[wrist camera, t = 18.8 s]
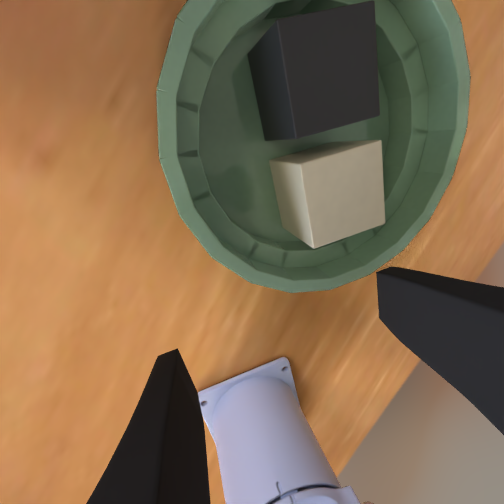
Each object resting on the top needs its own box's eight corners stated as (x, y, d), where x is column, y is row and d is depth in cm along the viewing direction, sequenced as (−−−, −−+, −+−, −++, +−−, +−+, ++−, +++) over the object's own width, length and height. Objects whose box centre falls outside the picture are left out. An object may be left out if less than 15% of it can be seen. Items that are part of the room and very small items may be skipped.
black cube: (331, 123, 18) (380, 115, 14) (264, 141, 17) (295, 139, 13) (321, 37, 16) (375, -2, 12) (246, 53, 15) (276, 18, 11)
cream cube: (340, 208, 20) (385, 223, 16) (282, 227, 19) (313, 249, 15) (333, 141, 18) (382, 139, 14) (268, 160, 17) (299, 163, 13)
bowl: (407, 224, 23) (460, 240, 19) (209, 295, 20) (220, 332, 16) (403, -46, 16) (484, -112, 12) (106, 4, 13) (81, -59, 9)
